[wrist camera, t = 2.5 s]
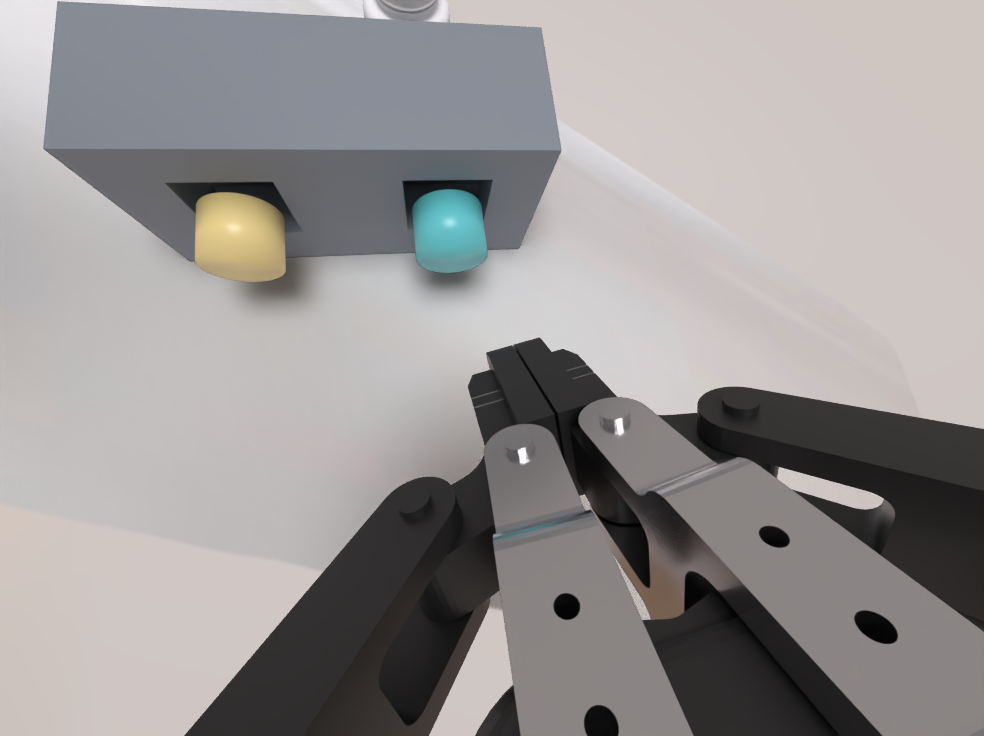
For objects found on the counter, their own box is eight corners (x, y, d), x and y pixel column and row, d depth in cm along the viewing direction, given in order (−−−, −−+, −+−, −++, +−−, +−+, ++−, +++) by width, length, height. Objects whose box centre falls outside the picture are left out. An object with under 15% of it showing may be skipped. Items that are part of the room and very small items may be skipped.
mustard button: (296, 279, 25) (268, 246, 21) (220, 283, 25) (176, 249, 20) (294, 233, 26) (267, 191, 22) (220, 235, 25) (177, 192, 21)
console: (518, 248, 32) (561, 150, 22) (189, 261, 28) (43, 148, 18) (506, 160, 34) (541, 27, 23) (191, 160, 30) (57, 1, 19)
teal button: (482, 271, 27) (492, 238, 23) (417, 274, 27) (414, 241, 22) (477, 228, 28) (486, 188, 24) (413, 230, 27) (410, 189, 23)
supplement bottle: (430, 147, 33) (429, 17, 23) (366, 118, 33) (337, -26, 23) (456, 96, 34) (466, -47, 24) (395, 68, 34) (380, -89, 24)
